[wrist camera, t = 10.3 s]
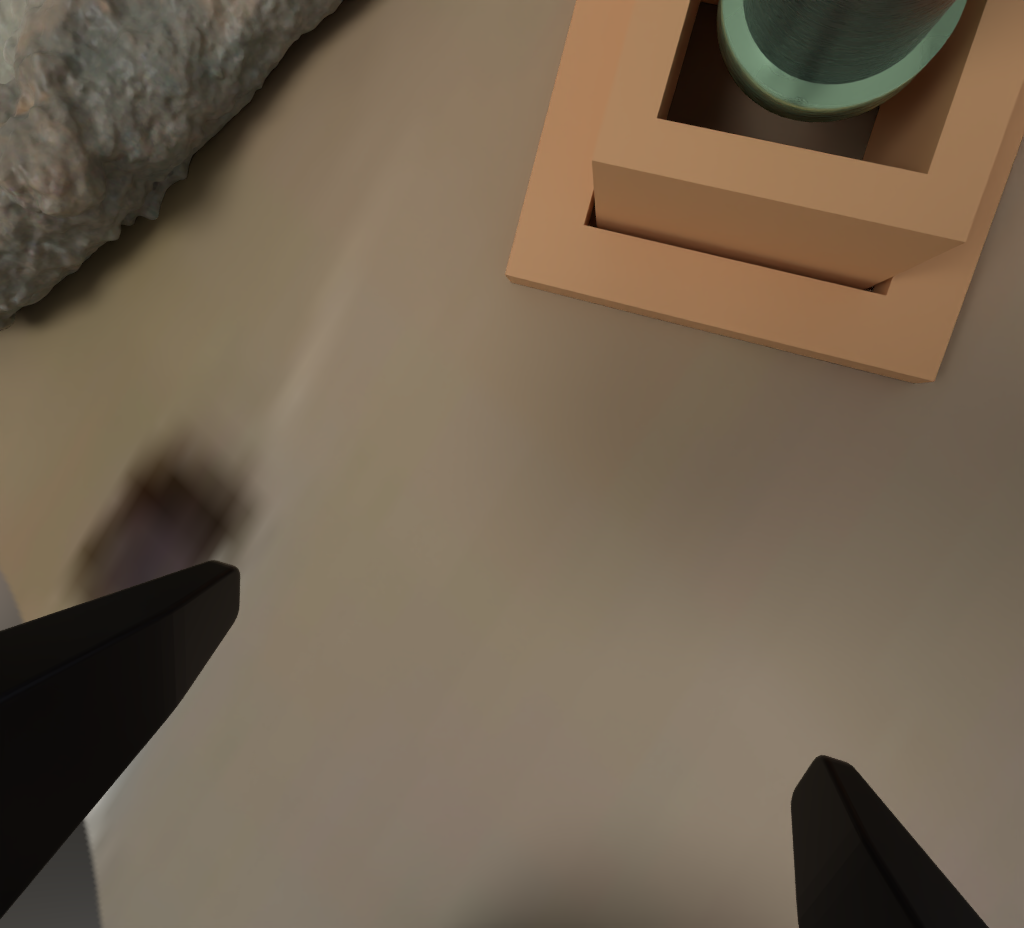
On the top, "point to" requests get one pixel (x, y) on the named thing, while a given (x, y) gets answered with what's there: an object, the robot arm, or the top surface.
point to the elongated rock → (116, 115)
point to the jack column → (830, 51)
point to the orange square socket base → (772, 196)
